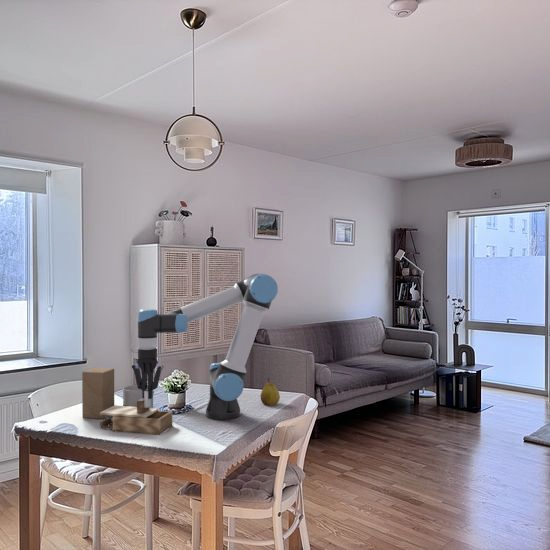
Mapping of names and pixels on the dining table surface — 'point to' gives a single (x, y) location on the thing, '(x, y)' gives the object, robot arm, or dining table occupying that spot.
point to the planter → (131, 395)
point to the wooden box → (144, 423)
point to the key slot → (106, 423)
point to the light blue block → (151, 401)
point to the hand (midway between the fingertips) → (147, 406)
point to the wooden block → (97, 392)
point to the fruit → (270, 394)
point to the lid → (130, 410)
